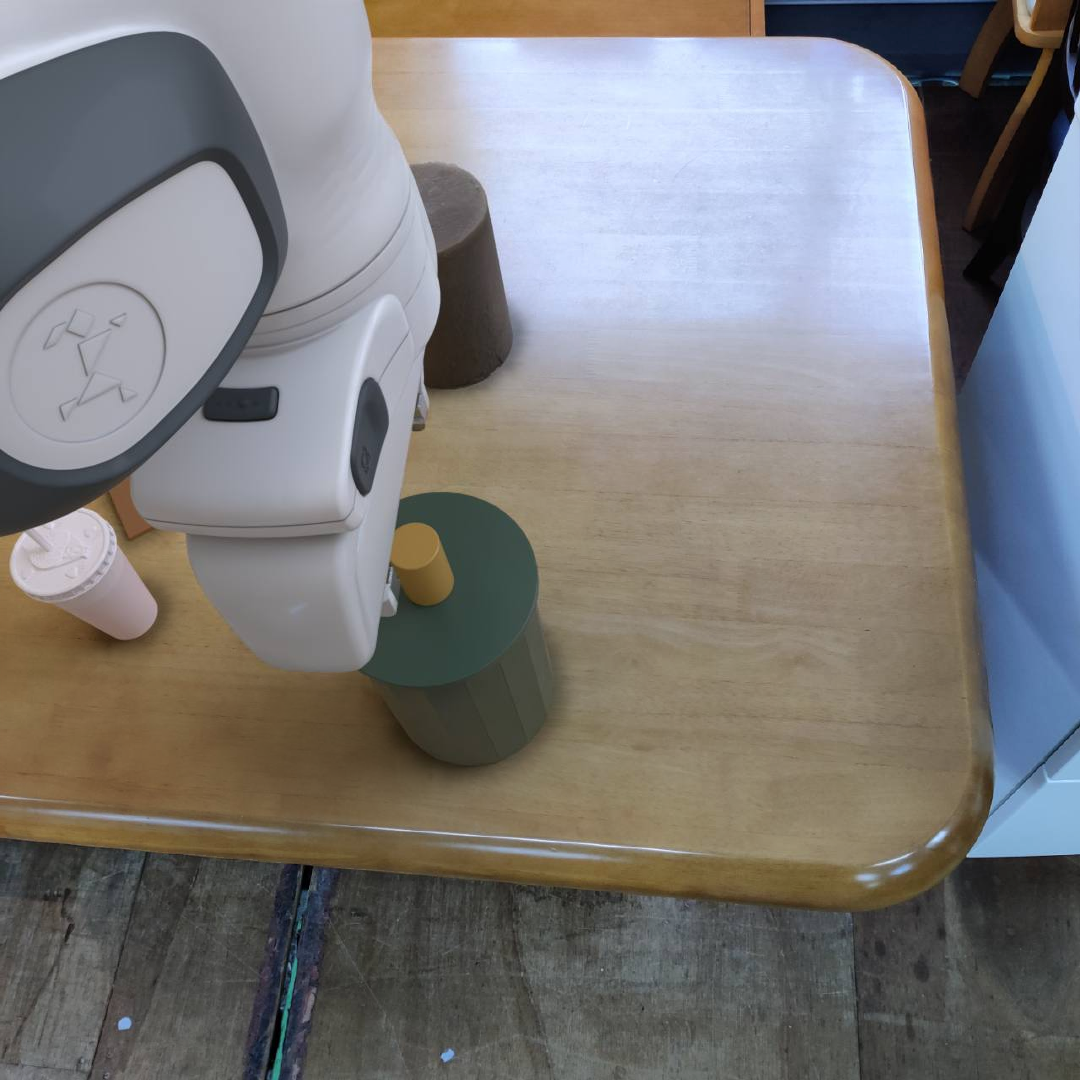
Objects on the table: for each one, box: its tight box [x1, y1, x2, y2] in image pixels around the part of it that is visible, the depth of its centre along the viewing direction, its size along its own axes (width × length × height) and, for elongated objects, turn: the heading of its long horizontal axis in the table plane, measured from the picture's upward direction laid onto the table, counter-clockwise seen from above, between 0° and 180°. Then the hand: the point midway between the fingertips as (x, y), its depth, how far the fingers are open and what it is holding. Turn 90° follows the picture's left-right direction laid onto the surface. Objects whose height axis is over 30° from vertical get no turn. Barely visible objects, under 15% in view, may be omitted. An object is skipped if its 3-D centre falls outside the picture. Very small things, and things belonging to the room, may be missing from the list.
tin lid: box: [357, 491, 540, 691], centre depth 47 cm, size 11×11×5 cm
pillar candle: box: [408, 161, 514, 390], centre depth 70 cm, size 10×10×15 cm
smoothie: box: [9, 507, 158, 641], centre depth 61 cm, size 6×6×14 cm
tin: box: [368, 603, 555, 767], centre depth 55 cm, size 10×10×14 cm
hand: (396, 505), depth 42 cm, fingers open, 8 cm apart
